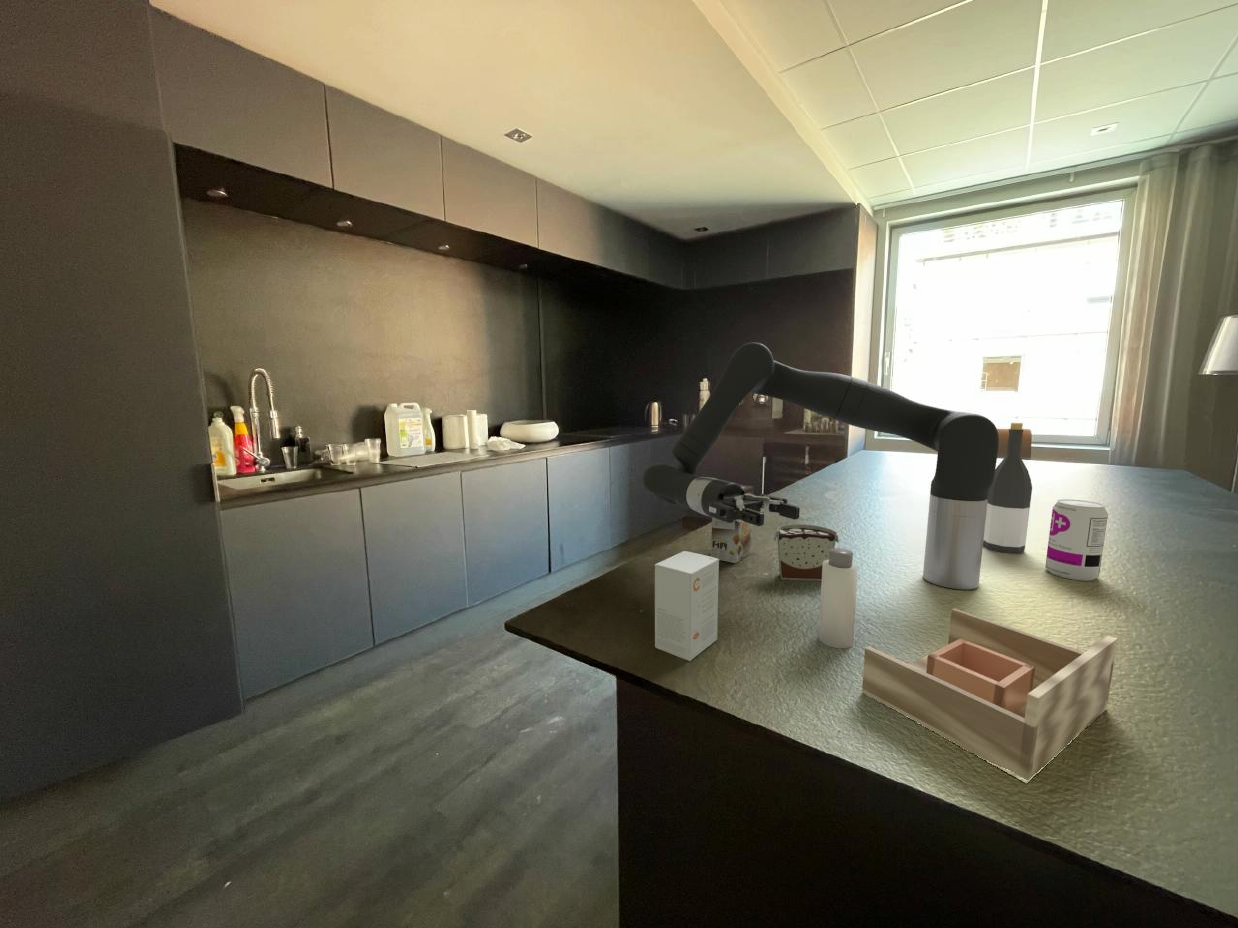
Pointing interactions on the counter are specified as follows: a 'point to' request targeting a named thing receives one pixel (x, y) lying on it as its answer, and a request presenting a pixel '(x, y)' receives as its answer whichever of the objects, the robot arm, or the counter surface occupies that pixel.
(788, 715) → the counter surface
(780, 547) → the food container
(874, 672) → the wooden tray
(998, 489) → the wine bottle
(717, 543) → the coffee box
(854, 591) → the white plastic bottle
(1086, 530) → the supplement can
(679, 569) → the small box
